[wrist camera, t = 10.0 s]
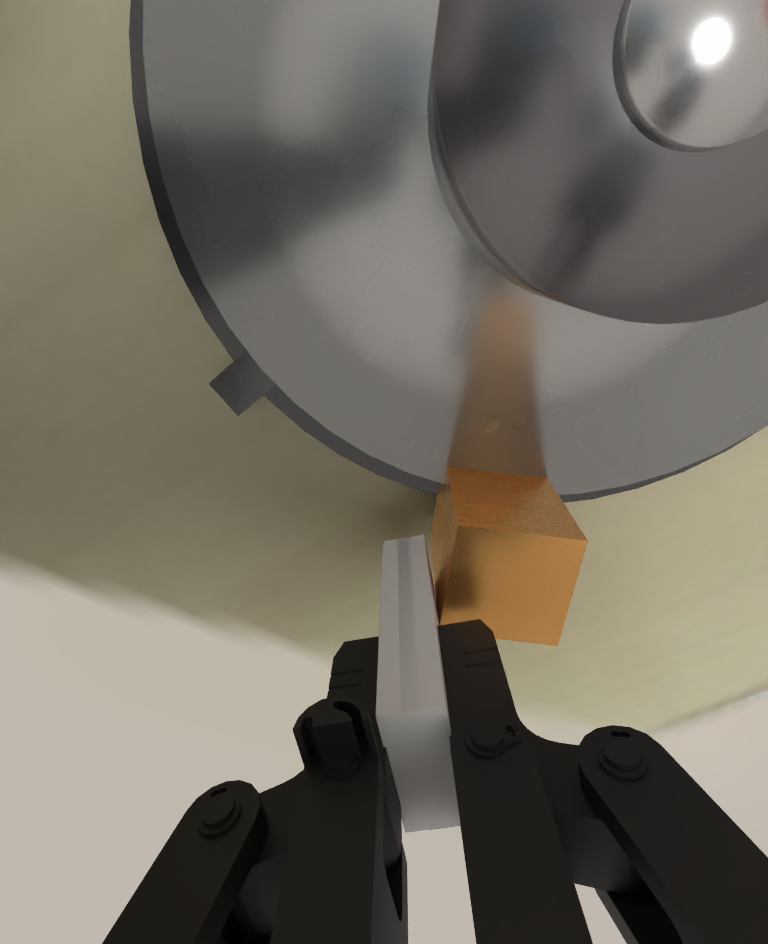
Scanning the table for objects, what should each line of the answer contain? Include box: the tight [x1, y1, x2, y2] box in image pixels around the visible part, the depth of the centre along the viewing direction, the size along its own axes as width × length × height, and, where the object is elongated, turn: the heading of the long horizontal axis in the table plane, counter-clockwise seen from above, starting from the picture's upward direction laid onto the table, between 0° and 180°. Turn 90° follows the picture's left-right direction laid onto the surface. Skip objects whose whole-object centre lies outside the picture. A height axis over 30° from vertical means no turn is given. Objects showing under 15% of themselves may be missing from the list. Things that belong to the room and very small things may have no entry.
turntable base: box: [129, 0, 758, 503], centre depth 14 cm, size 22×22×1 cm
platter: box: [143, 0, 768, 646], centre depth 12 cm, size 20×22×5 cm
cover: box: [427, 0, 768, 324], centre depth 10 cm, size 9×9×5 cm
